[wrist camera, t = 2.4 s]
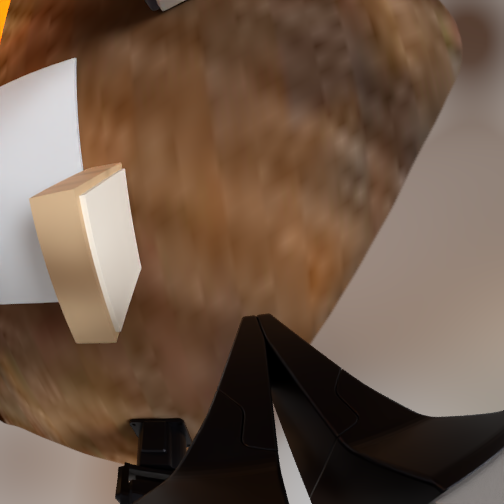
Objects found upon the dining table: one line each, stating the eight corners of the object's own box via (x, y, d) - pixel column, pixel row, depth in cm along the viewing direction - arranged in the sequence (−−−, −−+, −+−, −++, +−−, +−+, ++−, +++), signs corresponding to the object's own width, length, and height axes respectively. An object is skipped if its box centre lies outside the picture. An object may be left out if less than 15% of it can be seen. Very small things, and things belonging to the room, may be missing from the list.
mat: (111, 296, 21) (110, 298, 21) (-20, 303, 19) (-22, 304, 19) (76, 58, 14) (74, 57, 13) (-62, 123, 12) (-64, 123, 11)
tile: (143, 270, 21) (121, 342, 14) (109, 273, 21) (76, 343, 13) (125, 161, 18) (80, 187, 10) (87, 168, 17) (28, 198, 10)
